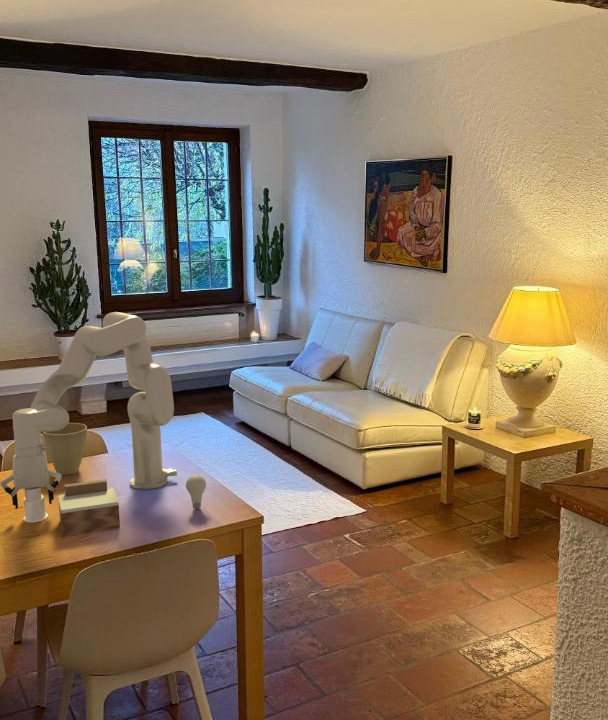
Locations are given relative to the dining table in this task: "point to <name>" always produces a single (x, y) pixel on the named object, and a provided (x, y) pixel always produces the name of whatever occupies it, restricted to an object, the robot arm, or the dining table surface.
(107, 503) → the toolbox lid
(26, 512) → the downlight
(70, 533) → the toolbox
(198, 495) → the lightbulb
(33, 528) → the dining table surface
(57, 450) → the plant pot
